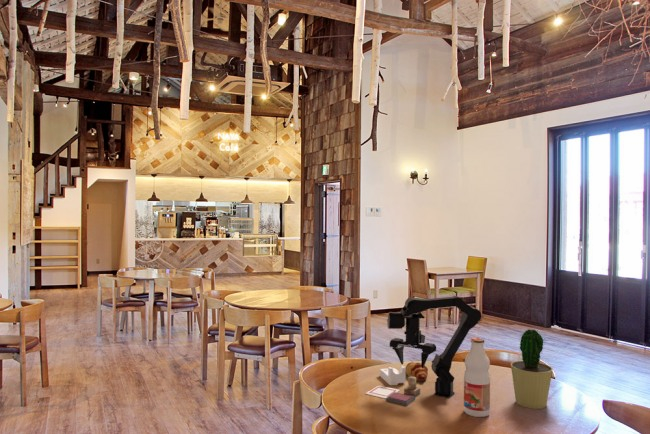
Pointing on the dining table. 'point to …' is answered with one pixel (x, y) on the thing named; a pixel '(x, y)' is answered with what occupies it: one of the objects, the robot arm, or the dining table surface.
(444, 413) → the dining table surface
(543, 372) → the potted cactus
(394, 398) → the ink pad
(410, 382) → the stamp
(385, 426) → the dining table surface
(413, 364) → the croissant
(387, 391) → the paper card
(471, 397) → the fruit juice
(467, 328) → the robot arm
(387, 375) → the bracket
